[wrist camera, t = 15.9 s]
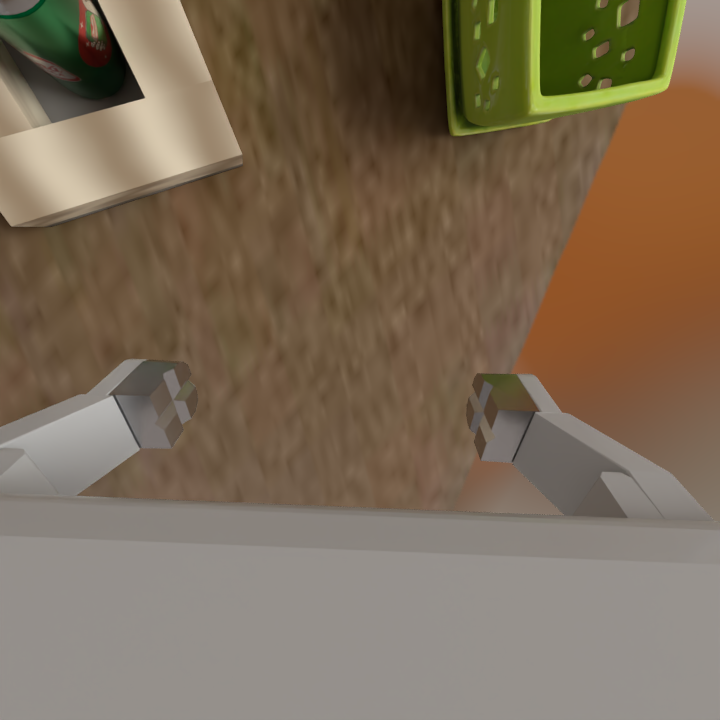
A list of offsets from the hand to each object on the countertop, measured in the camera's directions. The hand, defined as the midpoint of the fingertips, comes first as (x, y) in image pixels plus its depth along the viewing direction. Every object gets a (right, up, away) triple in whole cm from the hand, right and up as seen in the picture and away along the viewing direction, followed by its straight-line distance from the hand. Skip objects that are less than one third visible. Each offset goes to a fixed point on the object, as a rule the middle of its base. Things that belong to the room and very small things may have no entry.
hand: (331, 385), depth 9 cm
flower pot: (+13, +30, +23) cm, 40 cm away
